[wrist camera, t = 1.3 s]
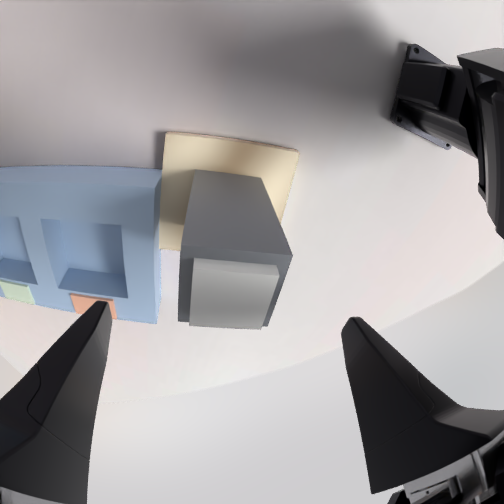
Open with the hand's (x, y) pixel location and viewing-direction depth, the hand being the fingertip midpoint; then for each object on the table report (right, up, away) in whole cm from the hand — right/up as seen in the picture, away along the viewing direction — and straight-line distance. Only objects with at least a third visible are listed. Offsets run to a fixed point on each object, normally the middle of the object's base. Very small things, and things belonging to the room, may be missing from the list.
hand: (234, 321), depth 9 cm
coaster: (-1, +6, +8) cm, 10 cm away
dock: (-15, +4, +8) cm, 17 cm away
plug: (-1, +6, +8) cm, 10 cm away
